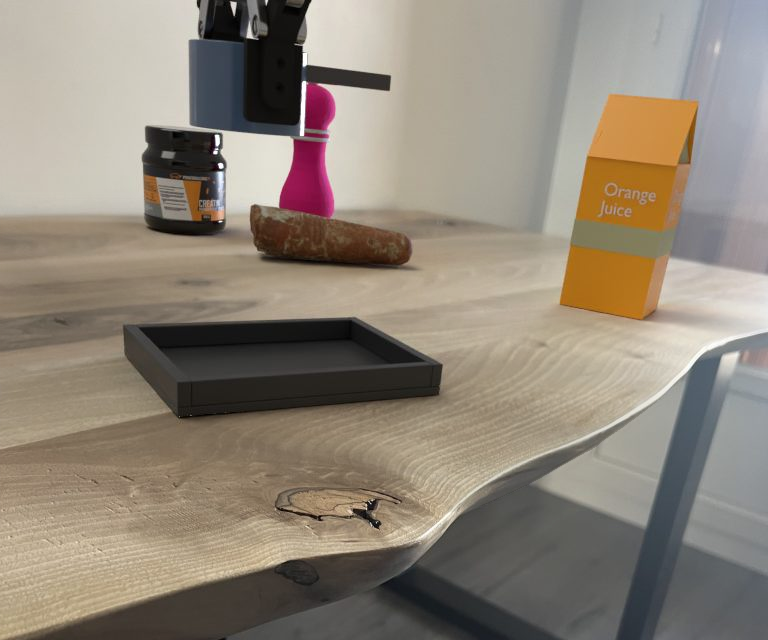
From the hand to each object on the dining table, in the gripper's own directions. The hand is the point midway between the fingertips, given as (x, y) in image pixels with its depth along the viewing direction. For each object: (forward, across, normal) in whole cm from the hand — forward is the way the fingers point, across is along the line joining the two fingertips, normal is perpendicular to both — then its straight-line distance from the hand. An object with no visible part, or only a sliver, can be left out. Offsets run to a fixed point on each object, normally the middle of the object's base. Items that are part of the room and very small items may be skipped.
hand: (247, 116), depth 49 cm
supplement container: (+16, -59, +14) cm, 63 cm away
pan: (+1, 0, +3) cm, 3 cm away
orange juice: (+16, -13, +46) cm, 50 cm away
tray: (+15, +2, +2) cm, 16 cm away
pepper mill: (+16, -52, +28) cm, 61 cm away
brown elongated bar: (+16, -38, +25) cm, 48 cm away
